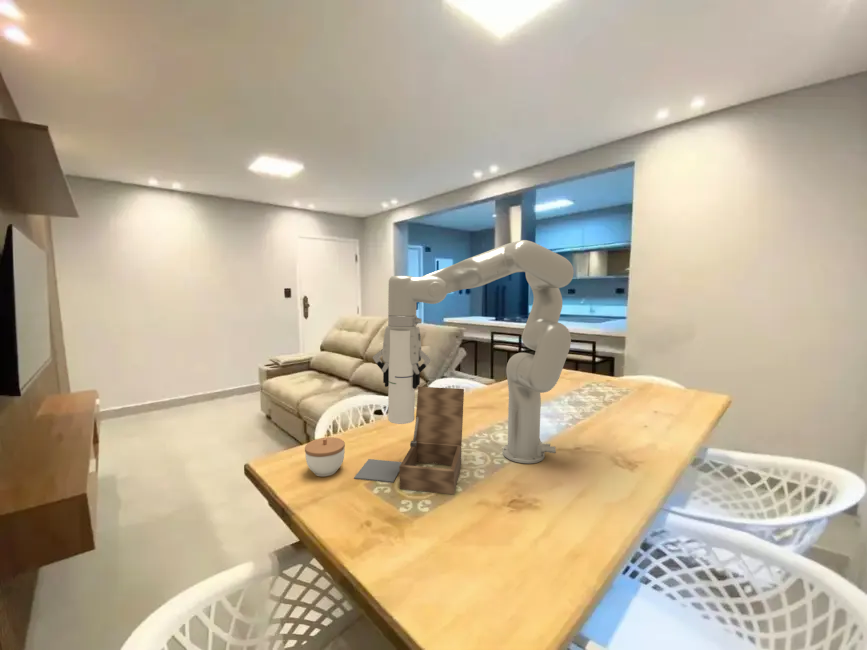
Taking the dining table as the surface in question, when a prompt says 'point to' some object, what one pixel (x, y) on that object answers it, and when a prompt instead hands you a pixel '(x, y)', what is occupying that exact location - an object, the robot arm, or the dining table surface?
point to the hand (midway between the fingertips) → (401, 386)
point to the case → (435, 441)
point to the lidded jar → (325, 455)
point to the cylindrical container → (400, 379)
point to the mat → (379, 471)
